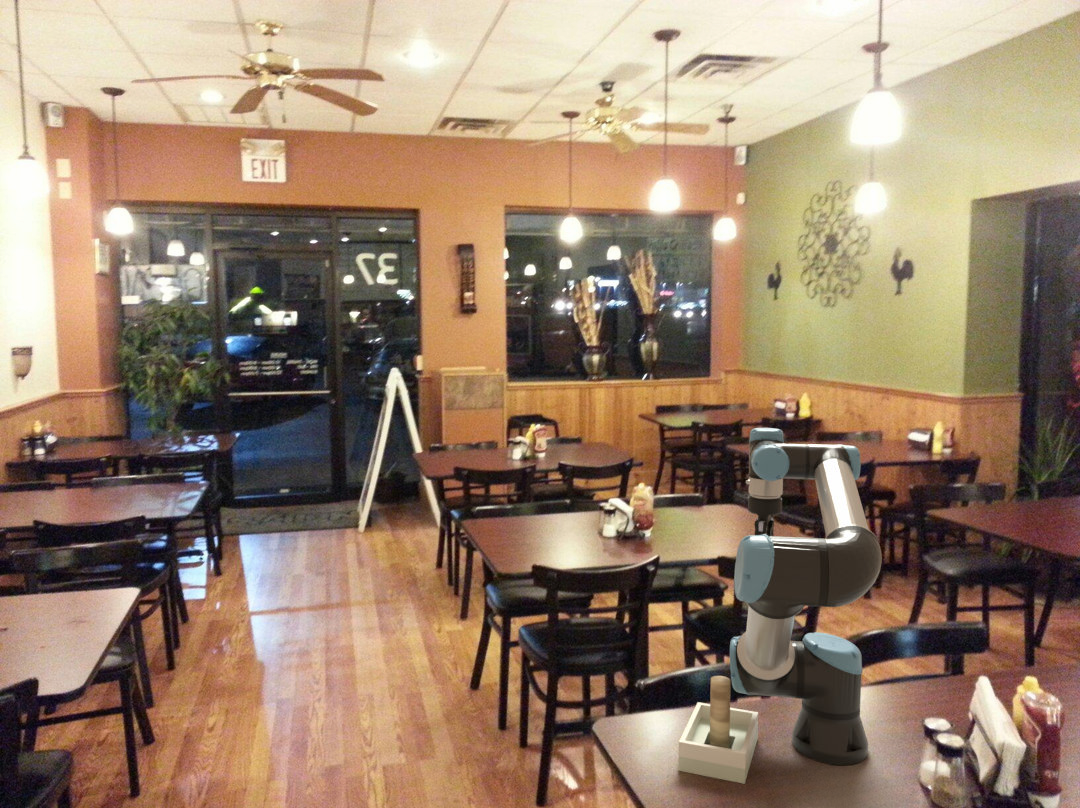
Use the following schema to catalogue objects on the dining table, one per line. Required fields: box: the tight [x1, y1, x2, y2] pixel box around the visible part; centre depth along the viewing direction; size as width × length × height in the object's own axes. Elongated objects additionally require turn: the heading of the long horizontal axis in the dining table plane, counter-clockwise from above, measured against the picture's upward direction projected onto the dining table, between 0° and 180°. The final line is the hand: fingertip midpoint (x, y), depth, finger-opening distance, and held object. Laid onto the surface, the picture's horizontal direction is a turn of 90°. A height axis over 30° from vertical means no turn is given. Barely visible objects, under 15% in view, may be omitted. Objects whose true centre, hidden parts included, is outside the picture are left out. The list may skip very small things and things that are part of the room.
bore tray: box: [678, 701, 759, 785], centre depth 171 cm, size 13×19×6 cm
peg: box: [709, 675, 732, 749], centre depth 171 cm, size 4×4×16 cm
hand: (762, 586), depth 191 cm, fingers open, 13 cm apart
